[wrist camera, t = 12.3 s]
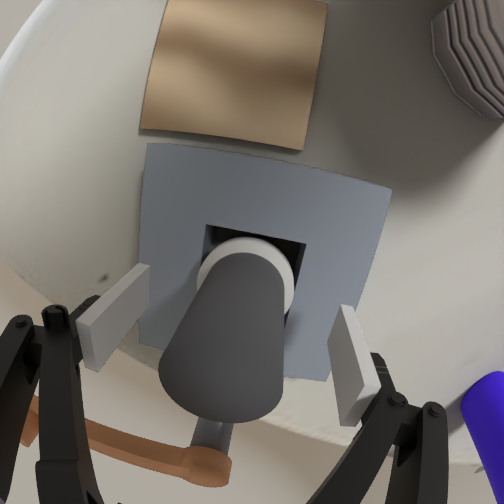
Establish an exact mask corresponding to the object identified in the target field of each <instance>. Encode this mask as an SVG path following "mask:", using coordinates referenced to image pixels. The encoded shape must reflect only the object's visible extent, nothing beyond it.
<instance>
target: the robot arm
mask: <svg viewBox="0 0 504 504" xmlns="http://www.w3.org/2000/svg"><path fill="white" fill-rule="evenodd" d="M149 282H150V265H146V264H142V263H138V264H137V265H136V266H134V267H133V268H132V269H131V270H130V271H129V272H128V273H126V274H125V275H124V276H123V277H122V278H121V279H120V280H119V281H117V282H116V283H115V284H114V285H113V286H112V287H111V288H110V289H109V290H108V291H106V292H105V293H104V294H103V295H102V296H97V295H94V296H92V297H90V298H87V299H86V300H85V301H84V302H83V303H82V304H81V305H80V306H79V307H78V308H76V309H75V310H74V311H73V312H72V313H71V314H70V315H68V310H67V308H66V307H64V306H62V305H50V306H48V307H46V308H45V309H43V311H42V313H41V314H42V319H43V323H44V327H43V326H37V325H33V321H32V318H31V317H30V316H28V315H17V316H15V317H13V318H12V319H11V320H10V322H9V323H8V325H7V327H6V328H5V330H4V331H3V333H2V335H1V336H0V504H5V503H6V500H7V497H8V494H9V491H10V486H11V482H12V476H13V471H14V466H15V461H16V456H17V452H18V447H19V443H20V439H21V435H22V432H23V428H24V424H25V421H26V417H27V414H28V411H29V407H30V404H31V401H32V398H33V395H34V392H35V389H36V386H37V383H38V380H39V402H38V426H39V449H40V460H39V461H37V462H36V465H35V472H36V481H37V488H38V496H39V502H40V504H104V502H103V499H102V497H101V495H100V492H99V489H98V486H97V482H96V478H95V473H94V469H93V464H92V460H91V454H90V449H89V444H88V438H87V431H86V425H85V418H84V410H83V401H82V391H81V380H80V379H81V378H80V368H79V362H80V361H81V360H82V359H83V360H84V365H85V367H86V368H88V369H91V370H93V371H96V372H99V370H100V369H101V368H102V366H103V365H104V364H105V362H106V361H107V360H108V358H109V357H110V356H111V354H112V353H113V352H114V350H115V349H116V348H117V346H118V345H119V344H120V342H121V341H122V340H123V338H124V337H125V336H126V334H127V333H128V332H129V330H130V329H131V328H132V327H133V325H134V324H135V323H136V321H137V320H138V319H139V317H140V316H141V315H142V314H143V312H144V311H145V310H146V309H147V307H148V306H149ZM327 347H328V352H329V358H330V363H331V369H332V375H333V381H334V387H335V393H336V400H337V406H338V413H339V420H340V426H353V427H356V425H357V424H358V422H359V421H360V419H361V422H362V427H361V428H360V430H359V431H358V433H357V434H356V435H355V437H354V438H353V441H352V442H351V444H350V445H349V447H348V448H347V450H346V451H345V453H344V454H343V456H342V457H341V459H340V460H339V462H338V463H337V464H336V466H335V467H334V469H333V470H332V471H331V472H330V474H329V475H328V477H327V478H326V479H325V480H324V482H323V483H322V484H321V486H320V487H319V488H318V489H317V491H316V492H315V493H314V495H313V496H312V497H311V498H310V499H309V500H308V502H307V503H306V504H360V502H361V500H362V499H363V497H364V496H365V494H366V492H367V491H368V489H369V487H370V486H371V484H372V482H373V480H374V478H375V477H376V475H377V473H378V471H379V469H380V467H381V465H382V463H383V461H384V459H385V458H386V455H387V453H388V451H389V449H390V447H391V445H392V444H393V445H395V451H394V458H393V464H392V470H391V476H390V481H389V487H388V491H387V496H386V501H385V504H447V497H448V470H449V467H448V466H449V456H448V429H447V415H446V411H445V409H444V408H443V407H442V406H441V405H440V404H438V403H436V402H431V401H430V402H426V403H425V404H424V406H423V407H422V408H420V407H416V406H413V405H409V404H408V401H407V399H406V398H405V396H404V395H402V394H401V393H399V392H396V390H395V387H394V385H393V382H392V379H391V377H390V374H389V371H388V369H387V366H386V364H385V361H384V359H383V358H382V357H381V356H380V355H379V354H378V353H371V352H369V349H368V346H367V343H366V341H365V338H364V335H363V332H362V330H361V327H360V324H359V322H358V319H357V316H356V314H355V311H354V309H353V306H348V305H342V304H340V307H339V310H338V313H337V315H336V318H335V321H334V324H333V326H332V329H331V332H330V334H329V337H328V340H327ZM118 504H121V503H118Z"/></svg>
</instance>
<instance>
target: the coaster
mask: <svg viewBox="0 0 504 504" xmlns="http://www.w3.org/2000/svg"><path fill="white" fill-rule="evenodd" d="M327 8H328V3H323V2H318V1H313V0H168V4H167V7H166V10H165V13H164V17H163V20H162V24H161V27H160V31H159V35H158V39H157V43H156V47H155V51H154V55H153V59H152V63H151V68H150V73H149V77H148V82H147V87H146V93H145V98H144V104H143V109H142V115H141V122H140V128H143V129H157V130H169V131H179V132H189V133H198V134H206V135H214V136H221V137H228V138H235V139H241V140H248V141H254V142H260V143H265V144H271V145H276V146H281V147H286V148H291V149H296V150H301V151H303V147H304V142H305V137H306V131H307V126H308V121H309V115H310V110H311V104H312V99H313V93H314V88H315V82H316V76H317V71H318V65H319V59H320V53H321V47H322V40H323V34H324V28H325V21H326V15H327Z"/></svg>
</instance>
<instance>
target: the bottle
mask: <svg viewBox="0 0 504 504" xmlns="http://www.w3.org/2000/svg"><path fill="white" fill-rule="evenodd" d="M461 412H462V416H463V418H464V421H465V423H466V425H467V428H468V430H469V432H470V435H471V437H472V439H473V442H474V444H475V447H476V449H477V451H478V454H479V456H480V459H481V461H482V464H483V466H484V469H485V471H486V474H487V477H488V479H489V481H490V484H491V487H492V489H493V493H494V495H495V498H496V501H497V504H504V372H500V371H496V372H492V373H490V374H488V375H486V376H485V377H483V378H482V379H480V380H479V381H478V382H477V383H475V384H474V385H473V386H472V387H471V388H470V390H469V391H468V392H467V393H466V395H465V396H464V398H463V400H462V403H461Z"/></svg>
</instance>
